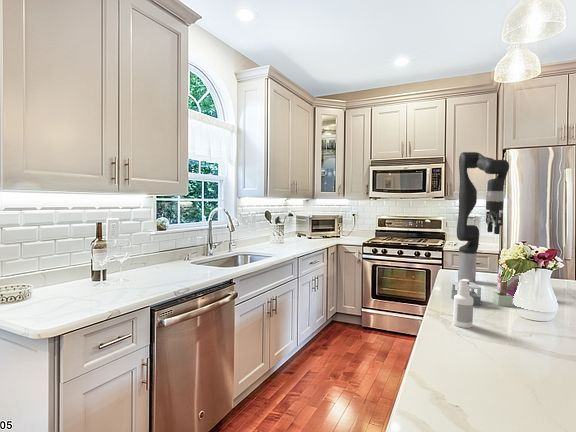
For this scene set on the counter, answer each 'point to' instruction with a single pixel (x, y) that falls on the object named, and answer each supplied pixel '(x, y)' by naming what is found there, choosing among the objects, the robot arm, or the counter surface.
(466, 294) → the spray bottle
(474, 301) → the box
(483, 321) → the counter surface
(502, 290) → the walnut dowel
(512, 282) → the candy bar box
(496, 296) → the green square hole block
